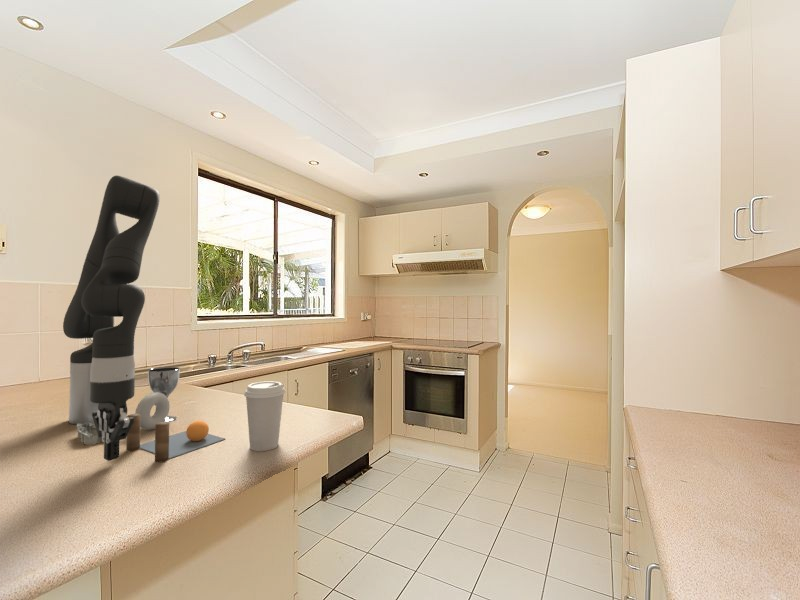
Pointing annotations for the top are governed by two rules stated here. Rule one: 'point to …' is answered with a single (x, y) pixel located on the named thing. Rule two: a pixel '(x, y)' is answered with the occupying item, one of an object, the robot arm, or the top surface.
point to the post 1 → (133, 434)
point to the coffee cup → (264, 414)
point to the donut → (145, 408)
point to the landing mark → (182, 444)
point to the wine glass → (164, 382)
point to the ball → (197, 430)
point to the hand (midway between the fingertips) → (111, 458)
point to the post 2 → (161, 441)
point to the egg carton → (88, 433)
